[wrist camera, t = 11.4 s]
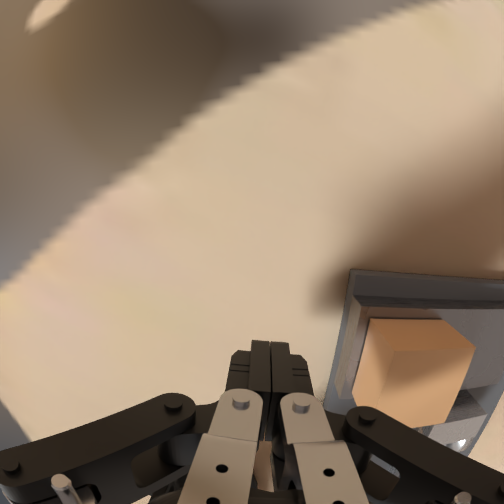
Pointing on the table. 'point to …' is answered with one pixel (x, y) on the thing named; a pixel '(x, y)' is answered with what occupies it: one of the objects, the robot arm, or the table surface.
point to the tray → (415, 288)
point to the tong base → (461, 319)
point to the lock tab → (412, 369)
